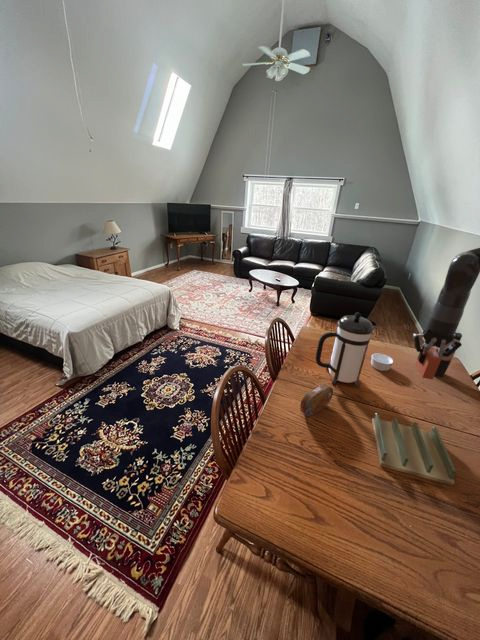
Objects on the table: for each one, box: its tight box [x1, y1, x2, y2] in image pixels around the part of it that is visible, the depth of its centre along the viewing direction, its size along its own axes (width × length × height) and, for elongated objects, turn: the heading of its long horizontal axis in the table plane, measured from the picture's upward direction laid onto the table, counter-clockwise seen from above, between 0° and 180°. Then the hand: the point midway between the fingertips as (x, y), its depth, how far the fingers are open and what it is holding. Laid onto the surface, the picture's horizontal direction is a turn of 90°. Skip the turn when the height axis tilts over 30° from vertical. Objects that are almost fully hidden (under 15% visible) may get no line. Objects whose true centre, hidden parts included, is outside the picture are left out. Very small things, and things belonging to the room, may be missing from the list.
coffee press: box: [315, 312, 375, 388], centre depth 106 cm, size 17×16×30 cm
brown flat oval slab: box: [299, 383, 334, 417], centre depth 94 cm, size 15×3×8 cm, turn 126°
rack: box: [371, 412, 457, 487], centre depth 81 cm, size 18×18×4 cm
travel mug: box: [433, 331, 463, 378], centre depth 115 cm, size 8×8×20 cm
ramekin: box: [370, 352, 394, 372], centre depth 121 cm, size 9×9×4 cm
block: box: [415, 344, 441, 380], centre depth 90 cm, size 3×9×8 cm, turn 162°
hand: (426, 363), depth 90 cm, fingers closed on block, 3 cm apart
